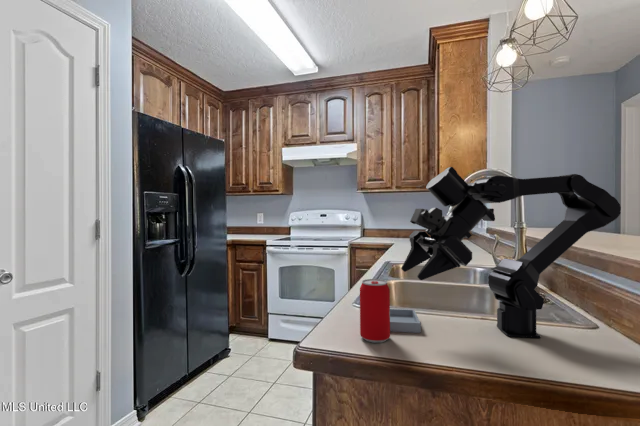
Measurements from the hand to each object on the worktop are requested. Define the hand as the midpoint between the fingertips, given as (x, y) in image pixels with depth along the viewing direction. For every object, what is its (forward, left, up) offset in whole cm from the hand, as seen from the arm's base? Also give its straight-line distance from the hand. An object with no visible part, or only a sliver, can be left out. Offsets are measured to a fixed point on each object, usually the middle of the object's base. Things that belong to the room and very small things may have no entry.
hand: (410, 274), depth 69 cm
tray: (+3, -8, -13) cm, 16 cm away
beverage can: (+8, +2, -14) cm, 16 cm away
